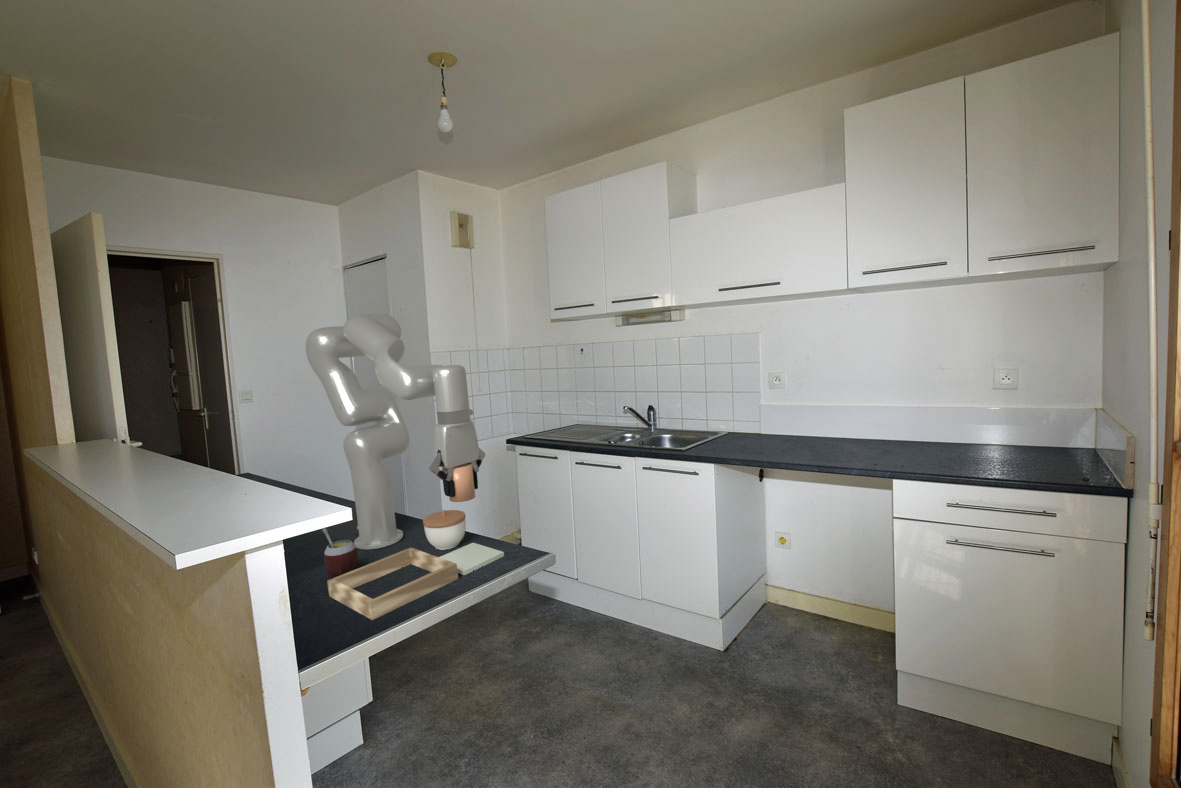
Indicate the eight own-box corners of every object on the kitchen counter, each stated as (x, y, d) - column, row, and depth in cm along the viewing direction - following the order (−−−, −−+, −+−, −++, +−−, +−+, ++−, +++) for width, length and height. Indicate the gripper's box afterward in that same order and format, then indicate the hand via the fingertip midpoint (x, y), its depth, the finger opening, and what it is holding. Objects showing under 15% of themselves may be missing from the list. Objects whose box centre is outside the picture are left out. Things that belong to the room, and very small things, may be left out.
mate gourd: (360, 567, 130) (353, 508, 129) (358, 580, 123) (350, 517, 121) (326, 574, 128) (318, 513, 126) (322, 588, 121) (313, 524, 119)
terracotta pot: (444, 499, 128) (441, 466, 127) (465, 492, 133) (461, 460, 132) (460, 503, 124) (456, 469, 123) (480, 496, 129) (477, 463, 128)
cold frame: (329, 596, 116) (327, 580, 116) (412, 561, 132) (410, 547, 132) (372, 620, 105) (370, 603, 104) (458, 578, 120) (456, 563, 120)
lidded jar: (457, 553, 134) (453, 517, 133) (418, 553, 137) (414, 517, 136) (474, 537, 145) (471, 503, 144) (438, 537, 147) (434, 504, 146)
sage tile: (433, 563, 129) (433, 559, 129) (473, 546, 139) (472, 542, 138) (464, 575, 122) (463, 571, 122) (504, 555, 131) (503, 552, 131)
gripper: (473, 411, 135) (480, 480, 137) (412, 423, 122) (421, 500, 124) (492, 412, 130) (499, 484, 132) (431, 425, 117) (440, 505, 119)
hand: (461, 491), depth 128 cm, fingers closed on terracotta pot, 6 cm apart
